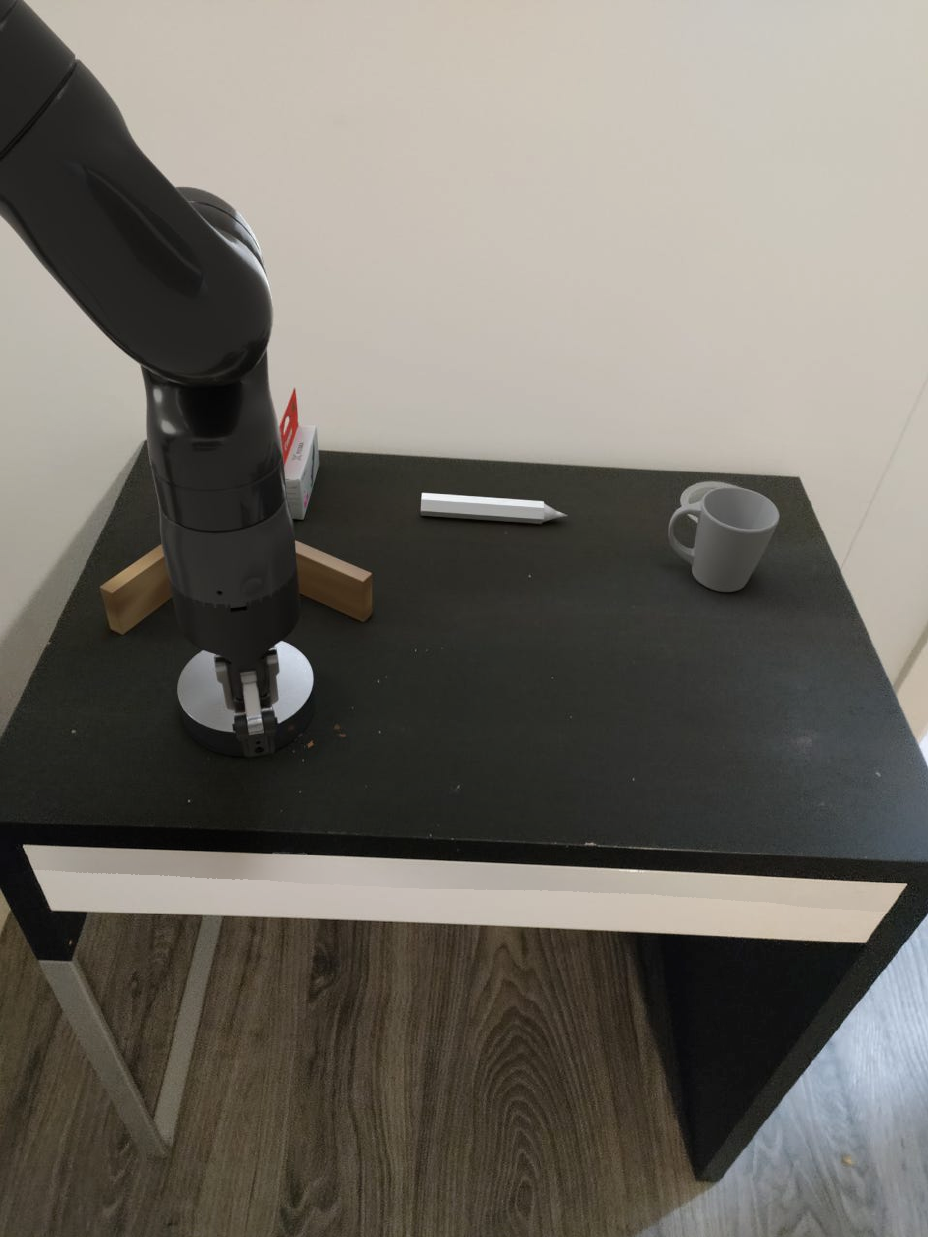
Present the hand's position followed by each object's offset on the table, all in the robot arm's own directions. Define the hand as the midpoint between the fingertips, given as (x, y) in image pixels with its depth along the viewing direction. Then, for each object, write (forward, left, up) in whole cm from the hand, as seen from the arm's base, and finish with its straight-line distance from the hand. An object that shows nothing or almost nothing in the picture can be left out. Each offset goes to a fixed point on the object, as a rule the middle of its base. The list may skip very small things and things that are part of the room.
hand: (259, 748), depth 67 cm
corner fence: (+15, +15, -7) cm, 22 cm away
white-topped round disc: (+7, +8, -7) cm, 13 cm away
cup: (+47, -19, -7) cm, 52 cm away
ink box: (+35, +24, -7) cm, 43 cm away
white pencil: (+43, +4, -7) cm, 44 cm away
